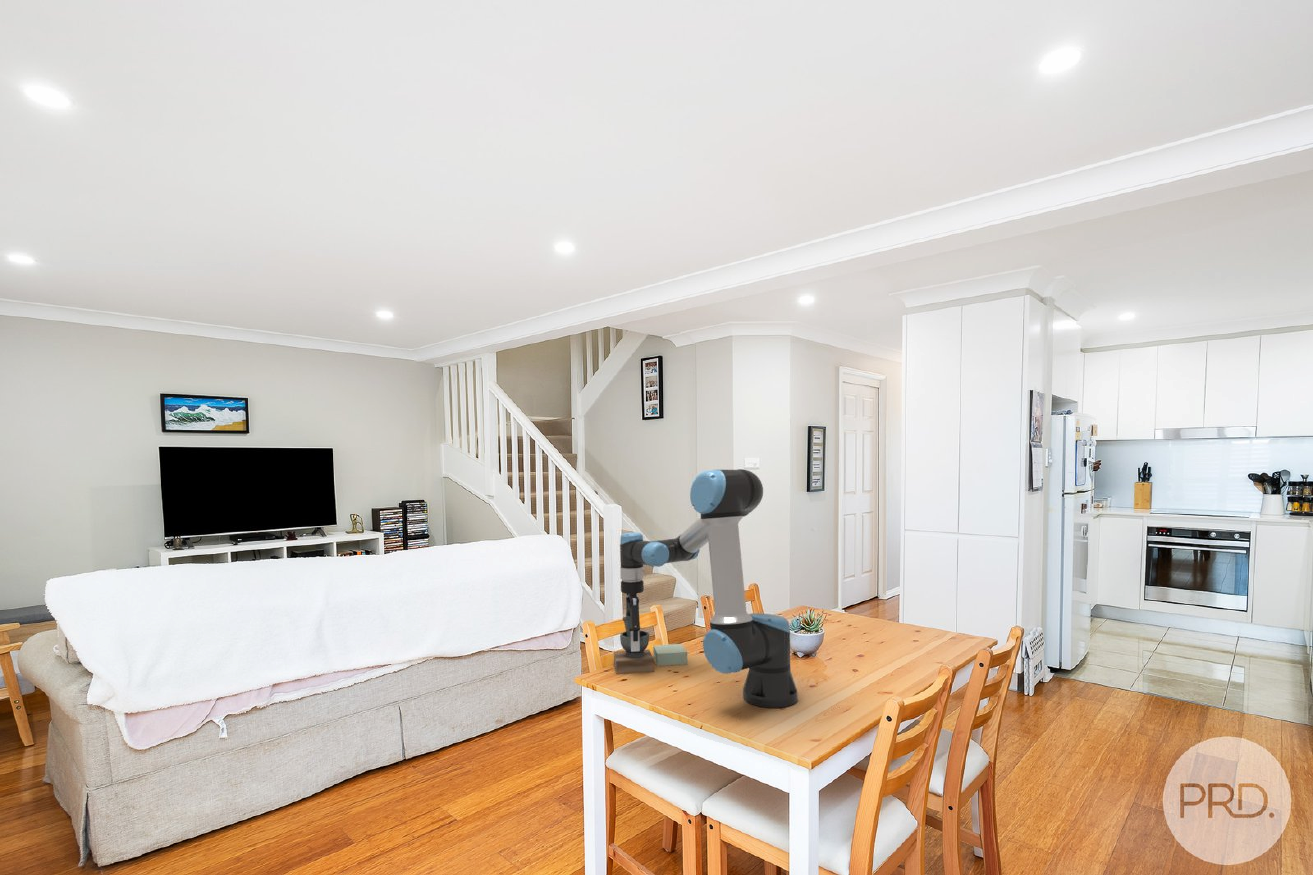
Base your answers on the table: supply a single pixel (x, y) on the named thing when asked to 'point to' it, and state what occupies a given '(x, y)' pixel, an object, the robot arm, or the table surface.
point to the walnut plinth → (633, 663)
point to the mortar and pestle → (626, 640)
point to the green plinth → (670, 654)
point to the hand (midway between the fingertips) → (633, 645)
